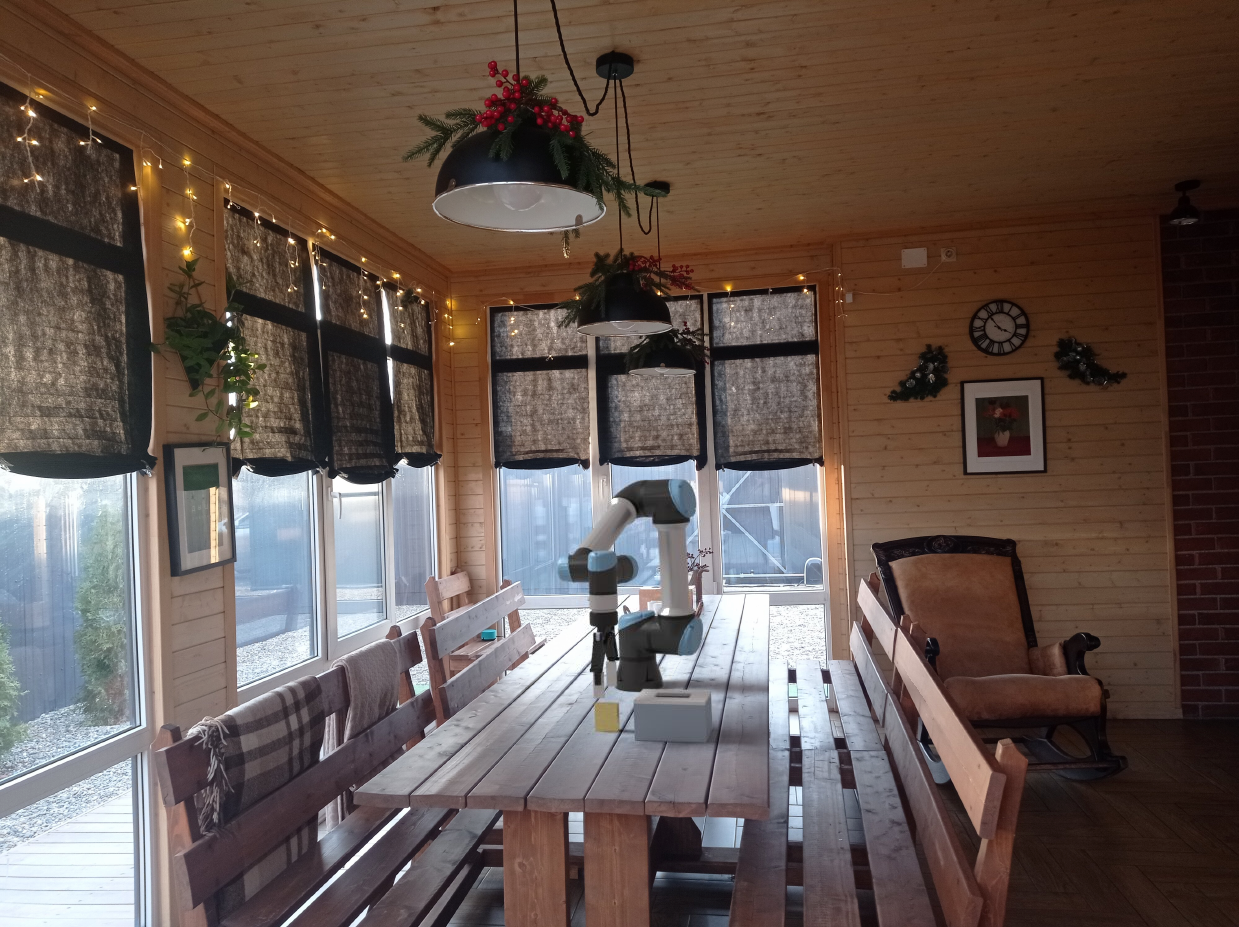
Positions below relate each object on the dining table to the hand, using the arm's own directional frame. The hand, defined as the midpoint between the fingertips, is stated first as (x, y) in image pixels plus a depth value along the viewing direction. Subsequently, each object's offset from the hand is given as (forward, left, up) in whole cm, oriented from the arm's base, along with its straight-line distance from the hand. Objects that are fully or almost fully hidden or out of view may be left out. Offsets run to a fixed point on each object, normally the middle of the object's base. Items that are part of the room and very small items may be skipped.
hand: (605, 691), depth 240 cm
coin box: (+2, +18, -10) cm, 21 cm away
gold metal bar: (0, 0, -10) cm, 10 cm away
